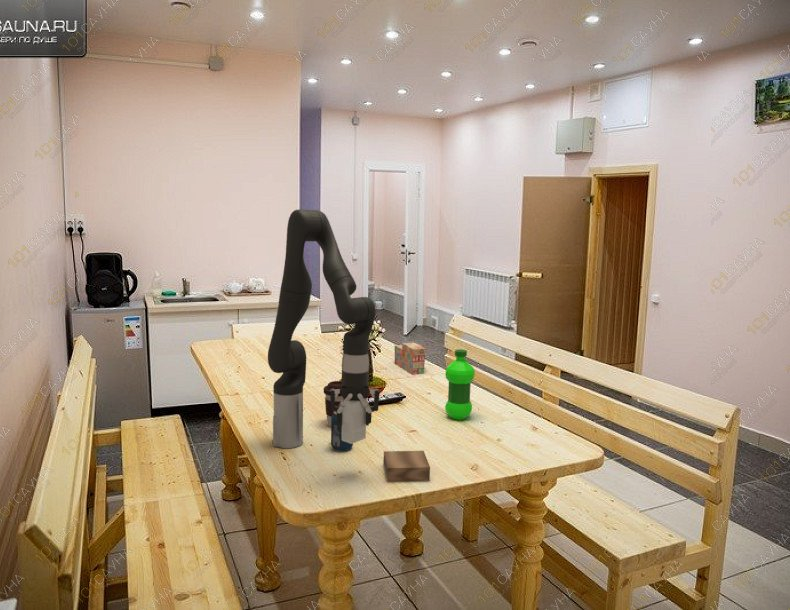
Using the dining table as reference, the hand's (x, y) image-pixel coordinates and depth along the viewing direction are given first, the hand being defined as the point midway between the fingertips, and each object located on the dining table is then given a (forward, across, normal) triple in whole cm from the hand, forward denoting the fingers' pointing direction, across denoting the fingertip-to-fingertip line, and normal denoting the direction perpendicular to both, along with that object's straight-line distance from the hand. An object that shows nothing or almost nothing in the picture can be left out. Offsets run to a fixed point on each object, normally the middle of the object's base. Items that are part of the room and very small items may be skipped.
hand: (353, 424), depth 179 cm
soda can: (+15, -3, +19) cm, 24 cm away
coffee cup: (+15, -4, +40) cm, 43 cm away
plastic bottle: (+15, +40, +46) cm, 63 cm away
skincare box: (+5, 0, 0) cm, 5 cm away
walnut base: (+14, +15, 0) cm, 21 cm away
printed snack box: (+16, +31, +114) cm, 120 cm away
